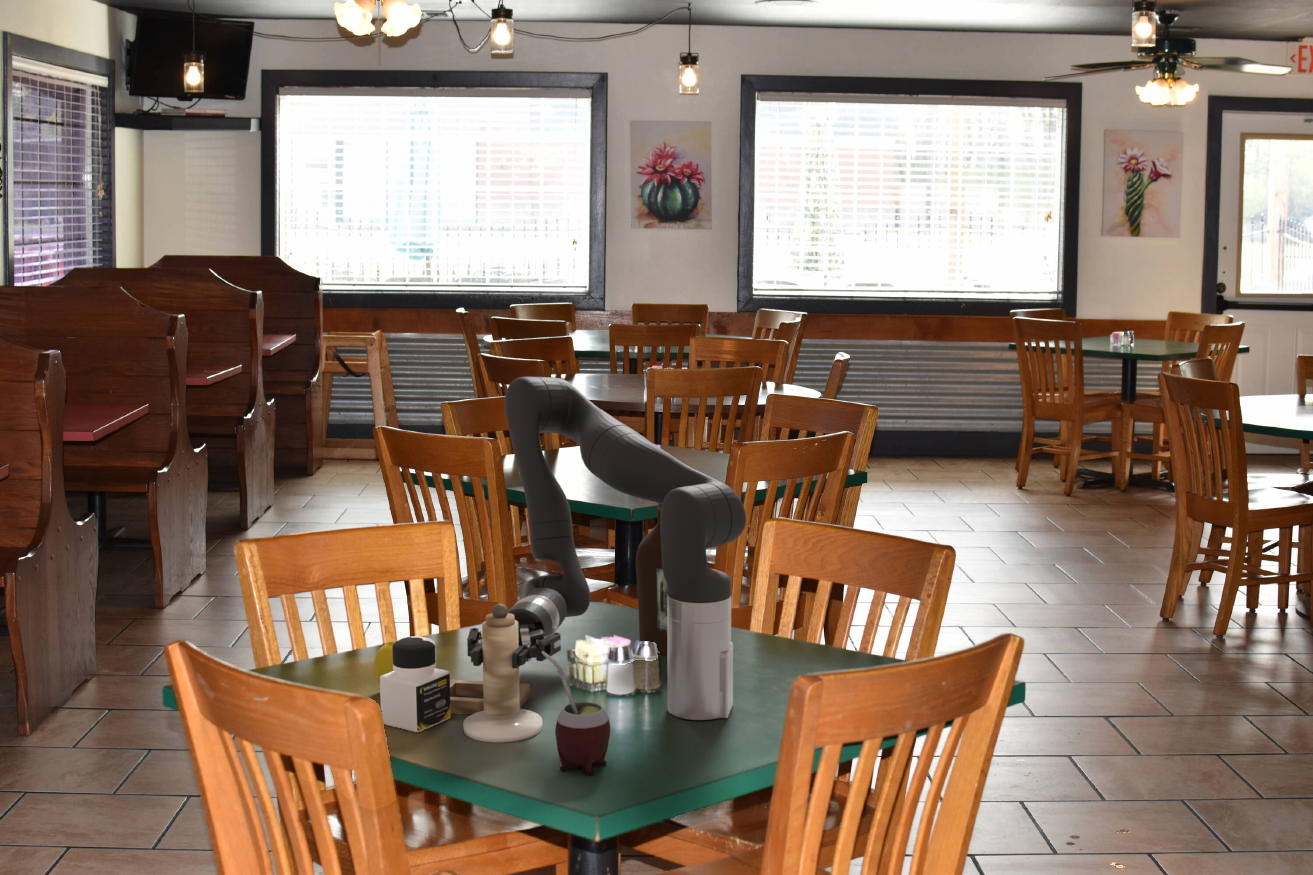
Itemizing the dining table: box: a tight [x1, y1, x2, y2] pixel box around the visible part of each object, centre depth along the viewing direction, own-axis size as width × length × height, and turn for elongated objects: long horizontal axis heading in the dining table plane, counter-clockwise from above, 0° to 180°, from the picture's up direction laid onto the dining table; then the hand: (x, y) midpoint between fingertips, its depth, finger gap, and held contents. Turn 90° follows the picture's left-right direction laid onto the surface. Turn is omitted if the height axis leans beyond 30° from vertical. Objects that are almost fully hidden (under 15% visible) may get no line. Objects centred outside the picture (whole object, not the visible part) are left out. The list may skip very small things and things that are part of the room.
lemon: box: [373, 640, 396, 685], centre depth 201 cm, size 6×6×8 cm
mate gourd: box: [542, 651, 611, 777], centre depth 170 cm, size 8×8×15 cm
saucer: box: [462, 708, 543, 743], centre depth 186 cm, size 11×11×1 cm
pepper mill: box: [481, 603, 521, 716], centre depth 184 cm, size 5×5×15 cm
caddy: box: [450, 678, 530, 715], centre depth 195 cm, size 13×9×2 cm
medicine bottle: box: [379, 635, 452, 734], centre depth 188 cm, size 7×7×12 cm
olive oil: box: [635, 503, 667, 655], centre depth 222 cm, size 11×11×25 cm
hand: (495, 660), depth 182 cm, fingers closed on pepper mill, 5 cm apart
